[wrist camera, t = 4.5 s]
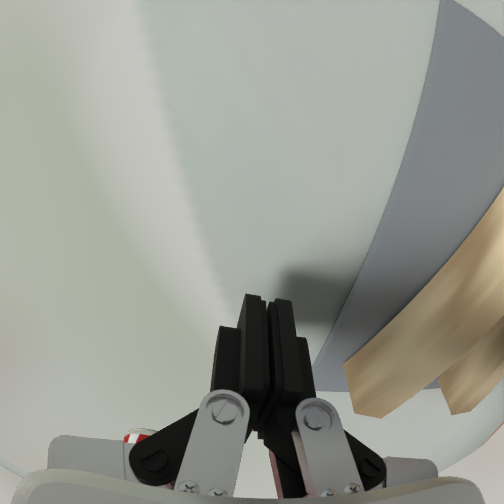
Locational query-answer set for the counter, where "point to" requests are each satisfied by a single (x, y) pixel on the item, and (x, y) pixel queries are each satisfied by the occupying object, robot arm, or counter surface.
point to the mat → (430, 186)
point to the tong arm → (434, 323)
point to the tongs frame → (475, 372)
